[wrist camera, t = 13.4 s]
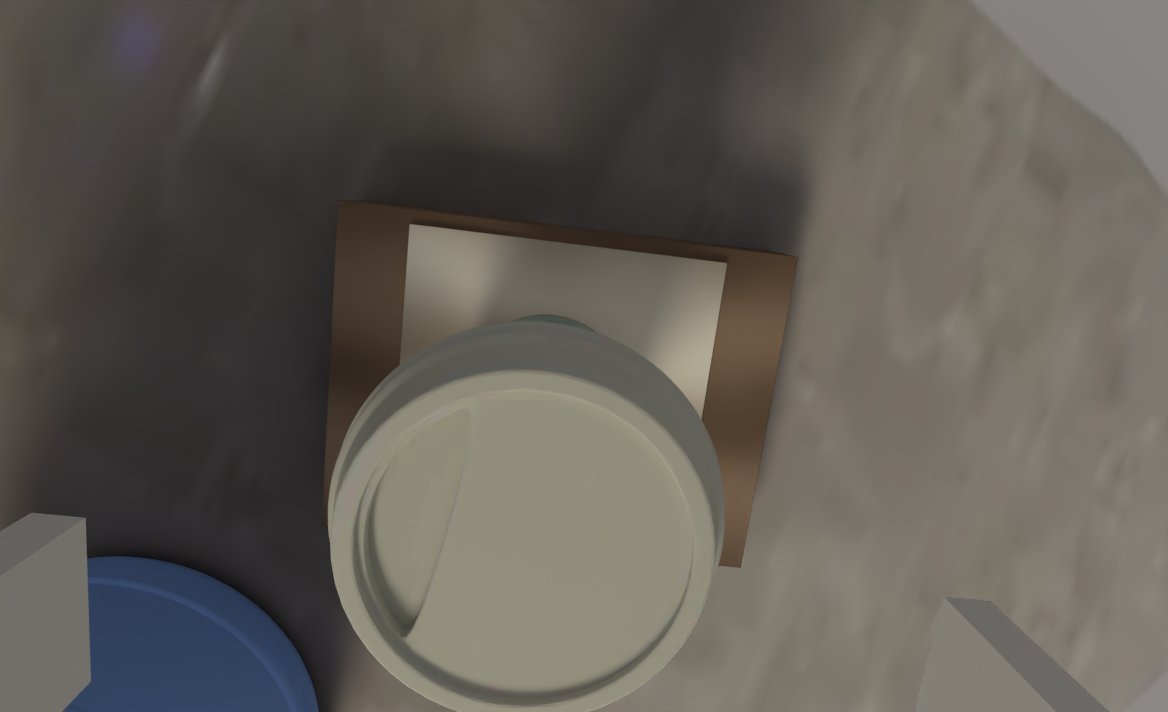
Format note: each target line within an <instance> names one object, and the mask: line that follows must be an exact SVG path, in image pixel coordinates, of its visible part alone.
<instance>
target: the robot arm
mask: <svg viewBox="0 0 1168 712" xmlns="http://www.w3.org/2000/svg"><path fill="white" fill-rule="evenodd" d="M90 682H91V669H90V637H89V606H88V575H87V544H86V518H83V517H72V516H61V515H51V514H40V513H30V514H28V515H26V516H25V517H23V518H21V519H20V520H18V521H16V522H15V523H13V524H12V525H10V526H8V527H7V528H5V529H3V530H2V531H0V712H62V711H63V710H64V709H65V708H66V707H67V706H68V705H69V704H70V703H71V702H72V701H73V700H74V699H75V698H76V697H77V695H78V694H79V693H80V692H81V691H82V690H83V689H84V688H85V687H86V686H87V685H88V684H89V683H90ZM914 712H1109V711H1108V710H1107V709H1106V708H1105V707H1104V706H1103V705H1101V704H1100V703H1099V702H1098V701H1097V700H1096V699H1095V698H1094V697H1093V696H1092V695H1091V694H1090V693H1089V692H1087V691H1086V690H1085V689H1084V688H1083V687H1082V686H1081V685H1080V684H1079V683H1078V682H1077V681H1076V680H1075V679H1073V678H1072V677H1071V676H1070V675H1069V674H1068V673H1067V672H1066V671H1065V670H1064V669H1063V668H1062V667H1061V666H1059V665H1058V664H1057V663H1056V662H1055V661H1054V660H1053V659H1052V658H1051V657H1050V656H1049V655H1048V654H1047V653H1045V652H1044V651H1043V650H1042V649H1041V648H1040V647H1039V646H1038V645H1037V644H1036V643H1035V642H1034V641H1033V640H1031V639H1030V638H1029V637H1028V636H1027V635H1026V634H1025V633H1024V632H1023V631H1022V630H1021V629H1020V628H1019V627H1017V626H1016V625H1015V624H1014V623H1013V622H1012V621H1011V620H1010V619H1009V618H1008V617H1007V616H1006V615H1005V614H1003V613H1002V612H1001V611H1000V610H999V609H998V608H997V607H996V606H995V605H994V604H993V603H992V602H991V601H984V600H973V599H962V598H951V597H944V599H943V603H942V607H941V611H940V615H939V618H938V622H937V626H936V630H935V634H934V638H933V642H932V645H931V649H930V653H929V657H928V661H927V665H926V668H925V672H924V676H923V680H922V684H921V688H920V692H919V695H918V699H917V703H916V707H915V711H914Z"/></svg>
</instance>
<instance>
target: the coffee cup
mask: <svg viewBox="0 0 1168 712" xmlns="http://www.w3.org/2000/svg"><path fill="white" fill-rule="evenodd" d="M724 531H725V503H724V492H723V483H722V476H721V471H720V466H719V462H718V458H717V455H716V452H715V449H714V446H713V443H712V441H711V438H710V436H709V434H708V431H707V429H706V427H705V425H704V424H703V422H702V420H701V418H700V416H699V415H698V413H697V411H696V410H695V408H694V407H693V405H692V404H691V403H690V401H689V400H688V399H687V397H686V396H685V395H684V394H683V392H682V391H681V390H680V389H679V388H678V387H677V385H676V384H675V383H674V382H673V381H672V380H671V379H670V378H669V377H668V376H667V375H666V374H664V373H663V372H662V371H661V370H660V369H659V368H658V367H656V366H655V365H654V364H653V363H651V362H650V361H649V360H647V359H646V358H644V357H643V356H641V355H640V354H638V353H637V352H635V351H633V350H632V349H630V348H628V347H627V346H625V345H623V344H621V343H619V342H617V341H615V340H612V339H610V338H608V337H605V336H603V335H600V334H598V333H596V332H595V331H594V330H592V329H591V328H589V327H588V326H586V325H584V324H582V323H580V322H578V321H576V320H573V319H570V318H567V317H563V316H558V315H548V314H542V315H531V316H526V317H522V318H519V319H516V320H513V321H511V322H503V323H496V324H490V325H485V326H480V327H476V328H472V329H468V330H465V331H462V332H459V333H456V334H453V335H451V336H448V337H446V338H444V339H441V340H439V341H437V342H435V343H433V344H431V345H429V346H428V347H426V348H424V349H422V350H421V351H419V352H417V353H416V354H414V355H413V356H411V357H410V358H408V359H407V360H406V361H404V362H403V363H402V364H400V365H399V366H398V367H397V368H396V369H394V370H393V371H392V372H391V373H390V374H389V375H388V376H387V377H386V378H385V379H384V380H383V381H382V382H381V383H380V384H379V385H378V386H377V387H376V388H375V390H374V391H373V392H372V393H371V394H370V396H369V397H368V398H367V400H366V401H365V402H364V404H363V405H362V407H361V408H360V410H359V411H358V413H357V415H356V416H355V418H354V420H353V422H352V424H351V426H350V428H349V430H348V432H347V434H346V437H345V439H344V442H343V444H342V447H341V450H340V453H339V456H338V458H337V461H336V464H335V467H334V471H333V475H332V479H331V484H330V491H329V500H328V532H329V540H330V550H331V564H332V570H333V576H334V581H335V585H336V589H337V592H338V595H339V598H340V601H341V604H342V607H343V609H344V611H345V613H346V615H347V617H348V619H349V621H350V623H351V625H352V627H353V629H354V630H355V632H356V633H357V635H358V636H359V638H360V639H361V641H362V642H363V643H364V645H365V646H366V648H367V649H368V650H369V651H370V652H371V654H372V655H373V656H374V657H375V658H376V659H377V660H378V662H379V663H380V664H382V665H383V666H384V667H385V668H386V669H387V670H388V671H389V672H390V673H391V674H392V675H393V676H395V677H396V678H397V679H399V680H400V681H401V682H402V683H404V684H405V685H406V686H408V687H409V688H411V689H412V690H414V691H416V692H417V693H419V694H421V695H422V696H424V697H426V698H427V699H429V700H431V701H433V702H436V703H438V704H440V705H442V706H445V707H447V708H449V709H452V710H455V711H458V712H590V711H593V710H596V709H599V708H601V707H604V706H606V705H608V704H610V703H612V702H614V701H616V700H618V699H620V698H622V697H624V696H626V695H628V694H629V693H631V692H632V691H634V690H636V689H637V688H639V687H640V686H642V685H643V684H644V683H646V682H647V681H648V680H650V679H651V678H652V677H653V676H654V675H655V674H657V673H658V672H659V671H660V670H661V669H662V668H663V667H664V666H665V665H666V664H667V663H668V662H669V661H670V660H671V659H672V657H673V656H674V655H675V654H676V653H677V652H678V651H679V650H680V648H681V647H682V645H683V644H684V642H685V641H686V640H687V638H688V637H689V635H690V634H691V632H692V630H693V628H694V627H695V625H696V623H697V621H698V620H699V617H700V615H701V612H702V610H703V608H704V605H705V603H706V600H707V598H708V594H709V590H710V587H711V585H712V583H713V580H714V577H715V574H716V572H717V569H718V565H719V561H720V557H721V553H722V548H723V540H724Z"/></svg>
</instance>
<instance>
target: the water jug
mask: <svg viewBox="0 0 1168 712" xmlns="http://www.w3.org/2000/svg"><path fill="white" fill-rule="evenodd" d="M87 575H88V606H89V637H90V669H91V682H90V683H89V684H88V685H87V686H86V687H85V688H84V689H83V690H82V691H81V692H80V693H79V694H78V695H77V697H76V698H75V699H74V700H73V701H72V702H71V703H70V704H69V705H68V706H67V707H66V708H65V709H64V710H63V711H62V712H319V710H318V704H317V699H316V695H315V691H314V688H313V685H312V682H311V679H310V676H309V674H308V671H307V669H306V667H305V665H304V663H303V661H302V659H301V657H300V655H299V654H298V652H297V650H296V649H295V647H294V646H293V644H292V643H291V641H290V640H289V639H288V637H287V636H286V635H285V633H284V632H283V631H282V630H281V629H280V627H279V626H278V625H277V624H276V623H275V622H274V621H273V620H272V619H271V618H270V617H269V616H268V615H267V614H266V613H265V612H264V611H263V610H262V609H261V608H259V607H258V606H257V605H256V604H255V603H253V602H252V601H251V600H249V599H248V598H247V597H245V596H244V595H242V594H241V593H239V592H238V591H236V590H235V589H233V588H231V587H230V586H228V585H226V584H224V583H223V582H221V581H219V580H217V579H215V578H213V577H211V576H208V575H206V574H204V573H201V572H199V571H196V570H193V569H190V568H187V567H184V566H181V565H177V564H174V563H170V562H165V561H160V560H155V559H149V558H140V557H126V556H109V557H95V558H87Z"/></svg>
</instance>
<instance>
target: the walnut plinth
mask: <svg viewBox="0 0 1168 712" xmlns="http://www.w3.org/2000/svg"><path fill="white" fill-rule="evenodd" d="M797 259H798V257H795V256H790V255H786V254H781V253H776V252H770V251H762V250H754V249H746V248H738V247H730V246H722V245H714V244H706V243H698V242H689V241H681V240H673V239H665V238H657V237H649V236H641V235H633V234H625V233H617V232H609V231H601V230H593V229H585V228H577V227H569V226H561V225H553V224H545V223H537V222H529V221H521V220H513V219H504V218H496V217H488V216H480V215H472V214H464V213H456V212H448V211H440V210H432V209H424V208H416V207H408V206H400V205H392V204H384V203H376V202H368V201H354V200H338V208H337V228H336V248H335V268H334V288H333V308H332V328H331V348H330V368H329V388H328V408H327V428H326V448H325V468H324V488H323V508H322V526H326V527H328V500H329V491H330V484H331V479H332V475H333V471H334V467H335V464H336V461H337V458H338V456H339V453H340V450H341V447H342V444H343V442H344V439H345V437H346V434H347V432H348V430H349V428H350V426H351V424H352V422H353V420H354V418H355V416H356V415H357V413H358V411H359V410H360V408H361V407H362V405H363V404H364V402H365V401H366V400H367V398H368V397H369V396H370V394H371V393H372V392H373V391H374V390H375V388H376V387H377V386H378V385H379V384H380V383H381V382H382V381H383V380H384V379H385V378H386V377H387V376H388V375H389V374H390V373H391V372H392V371H393V370H394V369H396V368H397V367H398V366H399V365H400V364H402V363H403V362H404V361H406V360H407V359H408V358H410V357H411V356H413V355H414V354H416V353H417V352H419V351H421V350H422V349H424V348H426V347H428V346H429V345H431V344H433V343H435V342H437V341H439V340H441V339H444V338H446V337H448V336H451V335H453V334H456V333H459V332H462V331H465V330H468V329H472V328H476V327H480V326H485V325H490V324H496V323H503V322H511V321H513V320H516V319H519V318H522V317H526V316H531V315H542V314H548V315H558V316H563V317H567V318H570V319H573V320H576V321H578V322H580V323H582V324H584V325H586V326H588V327H589V328H591V329H592V330H594V331H595V332H596V333H598V334H600V335H603V336H605V337H608V338H610V339H612V340H615V341H617V342H619V343H621V344H623V345H625V346H627V347H628V348H630V349H632V350H633V351H635V352H637V353H638V354H640V355H641V356H643V357H644V358H646V359H647V360H649V361H650V362H651V363H653V364H654V365H655V366H656V367H658V368H659V369H660V370H661V371H662V372H663V373H664V374H666V375H667V376H668V377H669V378H670V379H671V380H672V381H673V382H674V383H675V384H676V385H677V387H678V388H679V389H680V390H681V391H682V392H683V394H684V395H685V396H686V397H687V399H688V400H689V401H690V403H691V404H692V405H693V407H694V408H695V410H696V411H697V413H698V415H699V416H700V418H701V420H702V422H703V424H704V425H705V427H706V429H707V431H708V434H709V436H710V438H711V441H712V443H713V446H714V449H715V452H716V455H717V458H718V462H719V466H720V471H721V476H722V483H723V492H724V503H725V531H724V540H723V548H722V553H721V557H720V561H719V566H729V567H739V568H741V563H742V558H743V552H744V547H745V541H746V536H747V531H748V525H749V520H750V514H751V509H752V503H753V498H754V493H755V487H756V482H757V476H758V471H759V466H760V460H761V455H762V449H763V444H764V438H765V433H766V428H767V422H768V417H769V411H770V406H771V400H772V395H773V390H774V384H775V379H776V373H777V368H778V363H779V357H780V352H781V346H782V341H783V335H784V330H785V325H786V319H787V314H788V308H789V303H790V297H791V292H792V287H793V281H794V276H795V270H796V265H797Z"/></svg>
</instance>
